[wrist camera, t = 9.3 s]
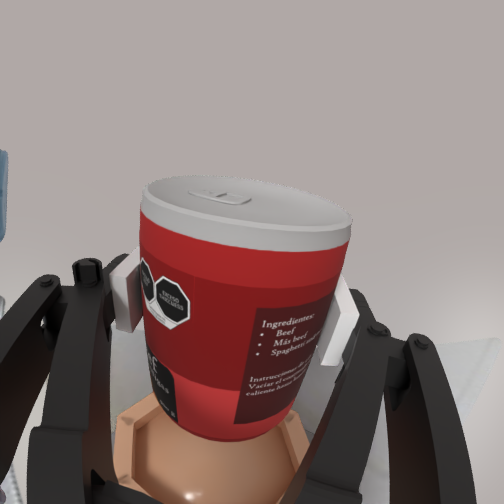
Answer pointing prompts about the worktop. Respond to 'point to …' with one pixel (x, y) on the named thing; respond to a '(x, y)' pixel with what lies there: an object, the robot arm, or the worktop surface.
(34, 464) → the robot arm
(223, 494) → the bowl
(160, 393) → the canned food
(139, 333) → the worktop surface
